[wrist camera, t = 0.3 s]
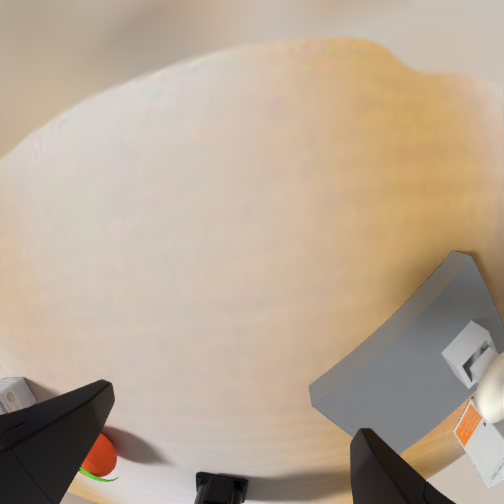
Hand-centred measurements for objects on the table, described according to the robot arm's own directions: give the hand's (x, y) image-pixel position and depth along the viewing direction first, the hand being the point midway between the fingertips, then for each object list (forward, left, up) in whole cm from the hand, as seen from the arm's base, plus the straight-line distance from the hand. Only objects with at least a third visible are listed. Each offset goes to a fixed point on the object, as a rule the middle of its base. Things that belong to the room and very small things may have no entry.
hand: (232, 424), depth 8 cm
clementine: (-24, +18, -15) cm, 33 cm away
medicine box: (-22, +35, -15) cm, 43 cm away
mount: (-6, -17, -15) cm, 23 cm away
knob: (-3, -19, -8) cm, 21 cm away
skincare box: (-14, -29, -15) cm, 36 cm away
